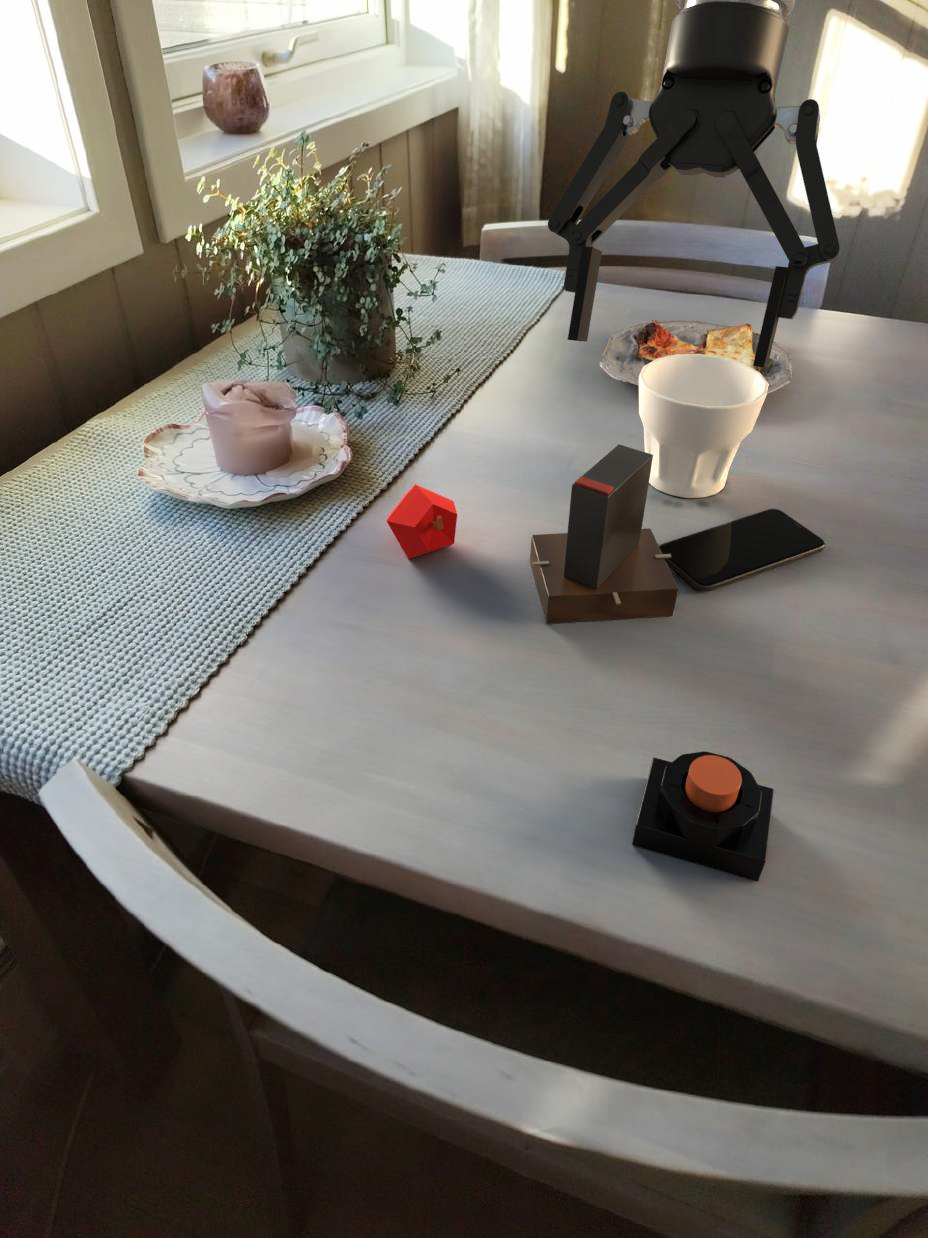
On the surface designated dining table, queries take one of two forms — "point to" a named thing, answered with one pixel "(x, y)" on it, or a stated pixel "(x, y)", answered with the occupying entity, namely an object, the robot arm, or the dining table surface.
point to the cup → (696, 419)
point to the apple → (423, 522)
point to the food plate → (690, 349)
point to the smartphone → (740, 549)
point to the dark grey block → (606, 515)
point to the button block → (704, 821)
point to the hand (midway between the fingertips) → (665, 353)
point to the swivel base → (603, 584)
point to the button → (713, 783)
